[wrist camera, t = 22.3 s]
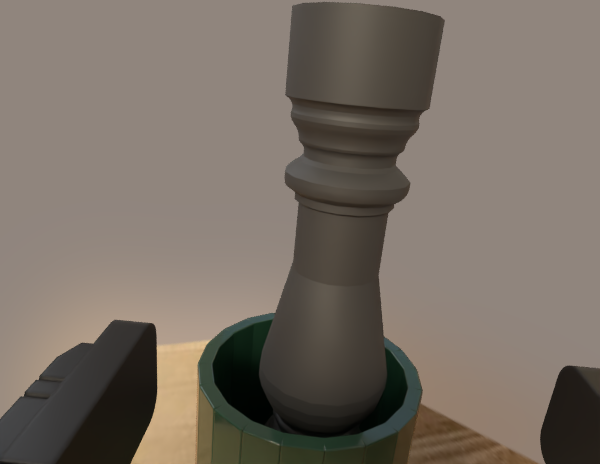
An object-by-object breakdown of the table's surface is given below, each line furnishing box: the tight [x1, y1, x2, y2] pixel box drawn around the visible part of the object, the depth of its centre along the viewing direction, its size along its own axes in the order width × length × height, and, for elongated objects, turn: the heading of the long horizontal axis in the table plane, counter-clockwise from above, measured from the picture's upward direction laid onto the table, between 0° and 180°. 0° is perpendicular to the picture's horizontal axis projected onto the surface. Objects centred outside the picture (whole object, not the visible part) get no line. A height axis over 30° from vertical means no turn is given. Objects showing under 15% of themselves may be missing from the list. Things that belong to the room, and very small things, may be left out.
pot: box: [195, 313, 422, 464], centre depth 24 cm, size 11×11×10 cm
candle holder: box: [259, 2, 444, 438], centre depth 22 cm, size 6×6×25 cm
